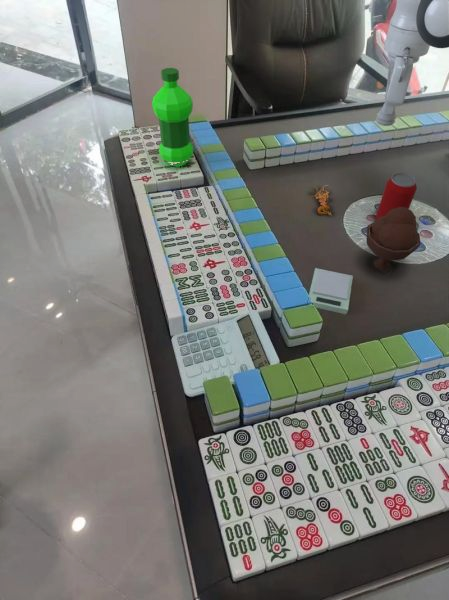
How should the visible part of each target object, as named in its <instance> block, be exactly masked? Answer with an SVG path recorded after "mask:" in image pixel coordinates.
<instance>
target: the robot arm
mask: <svg viewBox="0 0 449 600" xmlns="http://www.w3.org/2000/svg"><path fill="white" fill-rule="evenodd" d="M430 47H432V48H434V49H447V48H449V0H396V3H395V9H394V12H393V14H392V16H391V18H390V21H389V25H388V28H387V33H386V37H385V41H384V44H383V49H384V51H385V52H387V60H389V61H388V62H389V64H388V71H387V72H388V73H387V82H386V89H385V96H384V103H386V107H385V111H384V112H385V114H392V113H393V110H394V107H395V108H396V106H398V107H399V106H402V105H403V103H404V102H405V98H406V95H407V92H408V89H409V85H410V81H411V77H412V74H413V70H414V64H416V63H419V60H420V57H424V56H425V55H428V53H429V51H430Z"/></svg>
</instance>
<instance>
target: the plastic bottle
mask: <svg viewBox="0 0 449 600" xmlns="http://www.w3.org/2000/svg"><path fill="white" fill-rule="evenodd" d="M179 72H180V71H179V70H178V68H176V67H175V68H174V67H166V68H162V69H161V72H160V73H161V74H160V75H161V80H162V81H163V82H164V83H163V84H164V85H163V86H161V88H160V89H159V90H158V91H157V92H156V93H155V95H154V96H153V98H152V102H151V106H152V111H153V113H154V115H155V116H156V117H157V118H158V125H159V133H160V134H159V135H160V144H159V145H158V146H159V147H158V155H159V156H160V158H161V159H162V158H163V159H162V161H163V162H164V163H165V164H167V165H169V166H170V164H171V163H168V162H165V161H164V160H166V161H170V162H183V161H186V160H189V159H190V158H191V159H192V157H193V155H194V152H195V149H194V145H193V144H192V142H191V140H190V137H191V136H190V123H189V121H190V120H189V118H190V116H191V113H192V112H193V107H194V104H193V99H192V97H191V95H190V94H189V93H188V92H187V91H186V90H185V89H184V88H182V87H181V86H180V85H178V80H179V79H180V73H179ZM192 154H193V155H192ZM191 156H192V157H191ZM191 159H190V160H189V161H186V162H184V163H178V164H173V166H176V167H175V168H181V167H184V166H186V164H188V163H189V162H190V161H191ZM183 165H184V166H183ZM180 166H181V167H180Z"/></svg>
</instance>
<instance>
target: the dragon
mask: <svg viewBox="0 0 449 600" xmlns="http://www.w3.org/2000/svg"><path fill="white" fill-rule="evenodd" d="M326 186H328V184H326V185H324V186H323V185H322V186H321V188H320V190H319V191H318V188H317V187H316V186H314V189H315V190H316V191H317V193H316V194H315V195H311V198H313V197H315V199H318V202H319V203H320V204H319V205H320V206H319V207H318V208H317V213H318V214H319V215H327V214H328V216H332V212H331V211H330V212H329V210H330V209H331V207H330V206H329V205H327V204H328V202H330V200H329V193H330V191H327V190H325V189H323V191H322V188H324V187H326Z"/></svg>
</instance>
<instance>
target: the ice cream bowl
mask: <svg viewBox="0 0 449 600" xmlns="http://www.w3.org/2000/svg"><path fill="white" fill-rule="evenodd" d="M416 224H417V216H416V215H415V213H414V211H413V210H411V209H410V208H409V209H408V208H405V207H398V208H395V209H392V210H391V211H389V212H388V213H387V214H386V216H383V217H381V218H379V219H376V218H375V220H374V221H373V222H371V223H369V224H368V225H366V245H367V247H368V248H369V249H370V251H371V252H372V253H374V255H376V257H377V259H376V260H374V261H373V262H374V263H373V265H374V267H376V268H377V269H379V270H381V271H386V270H389V269H390V268H391V263H390V262H389V261H400V260H405V259H406V258H408V257H409V256H410V255H411V254H412V253H414V252H416V250H418V249H419V247H420V246H421V237H420V235H421V234H420V233H419V231H418V230H417V227H416ZM378 258H379V259H378Z"/></svg>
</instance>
